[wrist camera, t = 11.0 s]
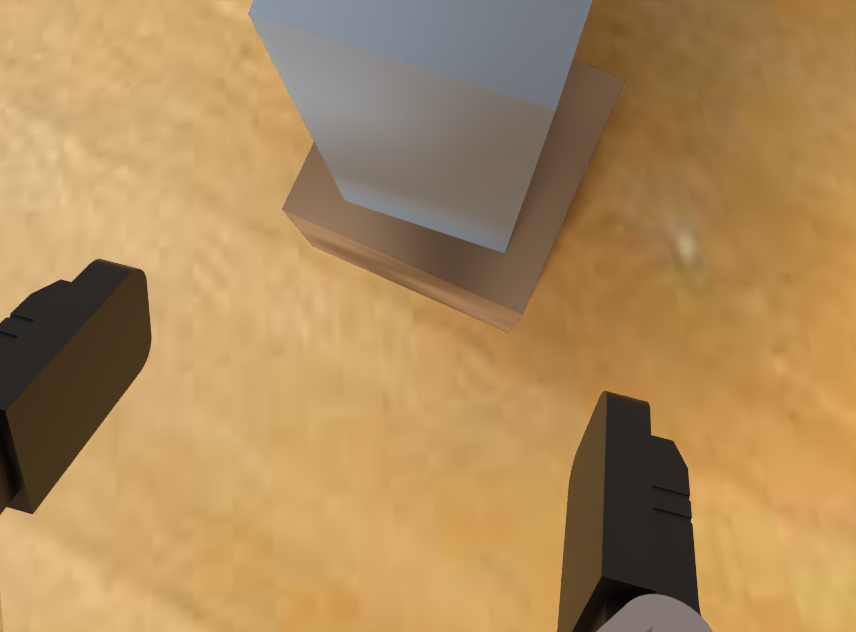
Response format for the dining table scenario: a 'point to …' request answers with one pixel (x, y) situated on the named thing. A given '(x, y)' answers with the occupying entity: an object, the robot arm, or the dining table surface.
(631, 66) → the dining table surface
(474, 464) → the dining table surface
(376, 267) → the walnut block
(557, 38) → the pillar
